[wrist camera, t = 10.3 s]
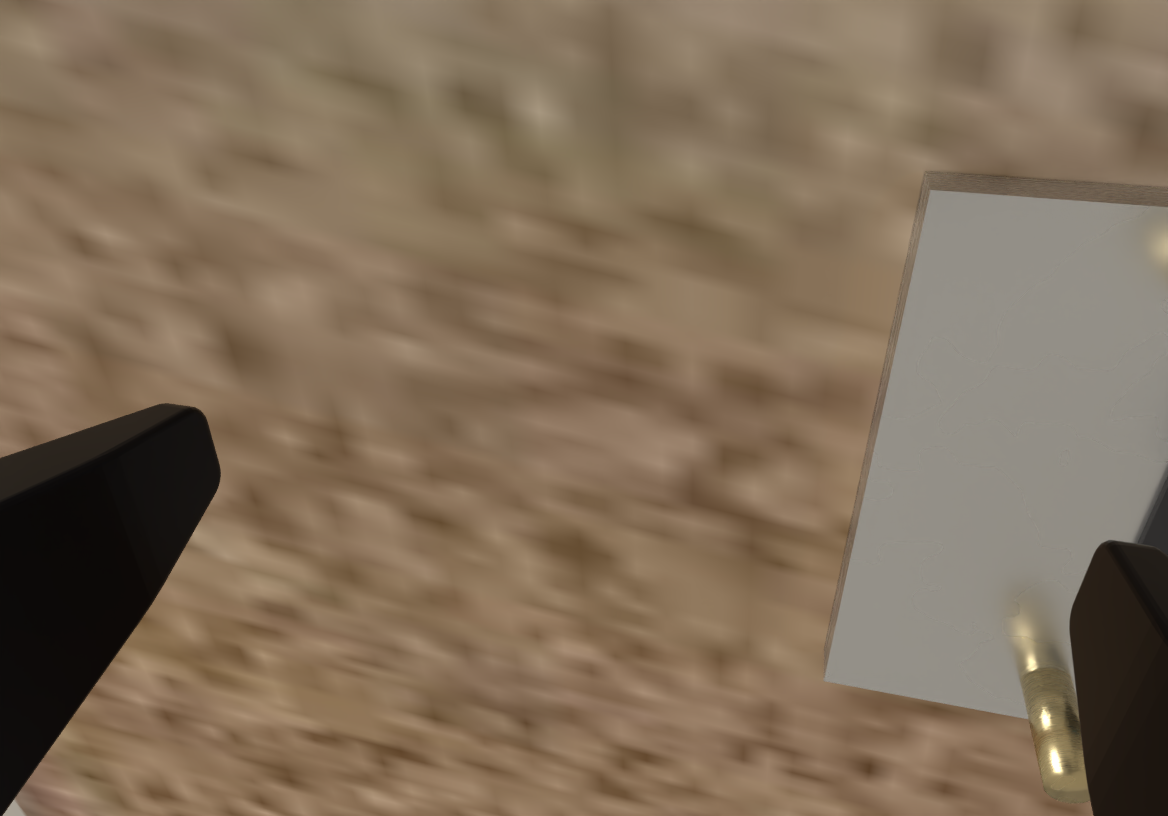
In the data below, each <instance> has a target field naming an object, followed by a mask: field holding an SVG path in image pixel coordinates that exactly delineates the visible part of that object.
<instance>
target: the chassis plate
mask: <svg viewBox="0 0 1168 816" xmlns="http://www.w3.org/2000/svg"><path fill="white" fill-rule="evenodd" d="M1108 540H1116V541H1123V542H1130V543H1137V544H1144V545H1150V546H1154V547H1156V548H1158V549H1160V550H1161V551H1162V552H1164V553H1165V554H1166V555H1168V188H1158V187H1143V186H1129V185H1115V184H1100V183H1086V182H1071V181H1057V180H1042V179H1028V178H1013V177H999V176H984V175H970V174H955V173H941V172H926V171H925V176H924V180H923V185H922V190H921V195H920V199H919V204H918V209H917V213H916V218H915V223H914V228H913V232H912V237H911V242H910V246H909V251H908V256H907V261H906V265H905V270H904V275H903V280H902V284H901V289H900V294H899V298H898V303H897V308H896V313H895V317H894V322H893V327H892V331H891V336H890V341H889V346H888V350H887V355H886V360H885V364H884V369H883V374H882V379H881V383H880V388H879V393H878V398H877V402H876V407H875V412H874V416H873V421H872V426H871V431H870V435H869V440H868V445H867V449H866V454H865V459H864V464H863V468H862V473H861V478H860V482H859V487H858V492H857V497H856V501H855V506H854V511H853V516H852V520H851V525H850V530H849V534H848V539H847V544H846V549H845V553H844V558H843V563H842V567H841V572H840V577H839V582H838V586H837V591H836V596H835V600H834V605H833V610H832V615H831V619H830V624H829V629H828V633H827V638H826V643H825V648H824V681H826V682H832V683H837V684H843V685H848V686H853V687H859V688H864V689H869V690H875V691H880V692H885V693H891V694H896V695H901V696H907V697H912V698H917V699H923V700H928V701H934V702H939V703H944V704H950V705H955V706H960V707H966V708H971V709H976V710H982V711H987V712H992V713H998V714H1003V715H1009V716H1014V717H1019V718H1025V719H1029V724H1030V728H1031V733H1032V737H1033V742H1034V746H1035V751H1036V755H1037V760H1038V764H1039V769H1040V774H1041V778H1042V783H1043V787H1044V790H1045V792H1046V793H1047V794H1048V795H1049V796H1051V797H1052V798H1054V799H1056V800H1058V801H1061V802H1066V803H1084V802H1088V801H1090V796H1089V792H1088V786H1087V779H1086V772H1085V765H1084V757H1083V748H1082V739H1081V730H1080V722H1079V713H1078V704H1077V695H1076V686H1075V678H1074V669H1073V660H1072V651H1071V642H1070V633H1069V621H1070V613H1071V609H1072V605H1073V603H1074V600H1075V598H1076V595H1077V593H1078V591H1079V588H1080V586H1081V583H1082V581H1083V579H1084V576H1085V574H1086V571H1087V569H1088V567H1089V564H1090V562H1091V559H1092V557H1093V555H1094V552H1095V551H1096V549H1097V548H1098V546H1099V545H1100V544H1101V543H1103V542H1105V541H1108Z"/></svg>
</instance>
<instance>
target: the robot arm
mask: <svg viewBox="0 0 1168 816" xmlns="http://www.w3.org/2000/svg"><path fill="white" fill-rule="evenodd" d="M220 477H221V471H220V465H219V461H218V458H217V454H216V450H215V447H214V443H213V440H212V436H211V432H210V429H209V425H208V422H207V419H206V417H205V415H204V414H203V413H202V412H201V410H199V409H197V408H195V407H190V406H183V405H176V404H169V403H165V404H158V405H155V406H152V407H149V408H146V409H143V410H141V411H138V412H135V413H132V414H129V415H126V416H123V417H120V418H117V419H114V420H111V421H108V422H105V423H102V424H99V425H96V426H93V427H90V428H87V429H85V430H82V431H79V432H76V433H73V434H70V435H67V436H64V437H61V438H58V439H55V440H52V441H49V442H46V443H43V444H40V445H37V446H34V447H32V448H29V449H26V450H23V451H20V452H17V453H14V454H11V455H8V456H5V457H2V458H0V816H3V814H4V813H5V811H6V810H7V808H8V807H9V806H10V804H11V803H12V801H13V800H14V799H15V797H16V796H17V794H18V793H19V792H20V790H21V789H22V787H23V786H24V785H25V783H26V782H27V780H28V779H29V777H30V776H31V775H32V773H33V772H34V770H35V769H36V768H37V766H38V765H39V763H40V762H41V761H42V759H43V758H44V756H45V755H46V753H47V752H48V751H49V749H50V748H51V746H52V745H53V744H54V742H55V741H56V739H57V738H58V737H59V735H60V734H61V732H62V731H63V730H64V728H65V727H66V725H67V724H68V722H69V721H70V720H71V718H72V717H73V715H74V714H75V713H76V711H77V710H78V708H79V707H80V706H81V704H82V703H83V701H84V700H85V698H86V697H87V696H88V694H89V693H90V691H91V690H92V689H93V687H94V686H95V684H96V683H97V682H98V680H99V679H100V677H101V676H102V675H103V673H104V672H105V670H106V669H107V667H108V666H109V665H110V663H111V662H112V660H113V659H114V658H115V656H116V655H117V653H118V652H119V651H120V649H121V648H122V646H123V645H124V643H125V642H126V641H127V639H128V638H129V636H130V635H131V634H132V632H133V631H134V629H135V628H136V627H137V625H138V624H139V622H140V621H141V619H142V618H143V616H144V615H145V613H146V612H147V610H148V609H149V607H150V606H151V605H152V603H153V601H154V600H155V598H156V596H157V595H158V593H159V591H160V590H161V588H162V586H163V585H164V583H165V581H166V580H167V578H168V576H169V574H170V573H171V571H172V569H173V567H174V565H175V564H176V562H177V560H178V558H179V557H180V555H181V553H182V551H183V550H184V548H185V546H186V544H187V543H188V541H189V539H190V537H191V536H192V534H193V532H194V530H195V529H196V527H197V525H198V523H199V521H200V520H201V518H202V516H203V514H204V513H205V511H206V509H207V507H208V506H209V504H210V502H211V500H212V499H213V497H214V495H215V493H216V491H217V489H218V486H219V483H220ZM1069 633H1070V642H1071V651H1072V660H1073V669H1074V678H1075V686H1076V695H1077V704H1078V713H1079V722H1080V730H1081V739H1082V748H1083V757H1084V765H1085V772H1086V779H1087V786H1088V792H1089V796H1090V801H1091V806H1092V811H1093V815H1094V816H1168V555H1166V554H1165V553H1164V552H1162V551H1161V550H1160V549H1158V548H1156V547H1154V546H1150V545H1144V544H1137V543H1130V542H1123V541H1116V540H1108V541H1105V542H1103V543H1101V544H1100V545H1099V546H1098V548H1097V549H1096V551H1095V552H1094V555H1093V557H1092V559H1091V562H1090V564H1089V567H1088V569H1087V571H1086V574H1085V576H1084V579H1083V581H1082V583H1081V586H1080V588H1079V591H1078V593H1077V595H1076V598H1075V600H1074V603H1073V605H1072V609H1071V613H1070V621H1069Z"/></svg>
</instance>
